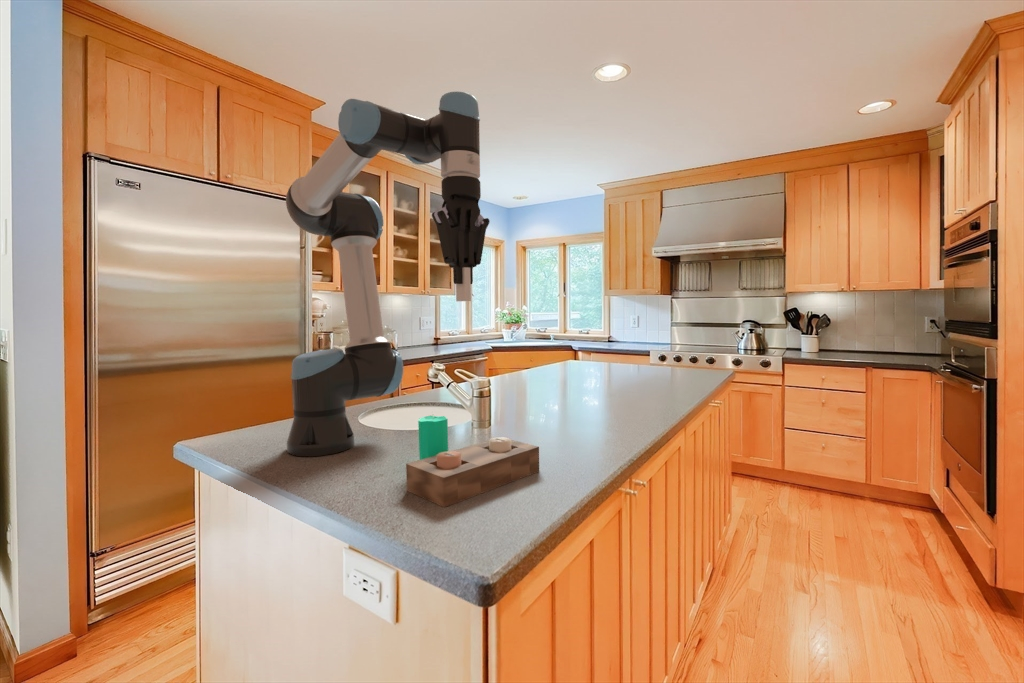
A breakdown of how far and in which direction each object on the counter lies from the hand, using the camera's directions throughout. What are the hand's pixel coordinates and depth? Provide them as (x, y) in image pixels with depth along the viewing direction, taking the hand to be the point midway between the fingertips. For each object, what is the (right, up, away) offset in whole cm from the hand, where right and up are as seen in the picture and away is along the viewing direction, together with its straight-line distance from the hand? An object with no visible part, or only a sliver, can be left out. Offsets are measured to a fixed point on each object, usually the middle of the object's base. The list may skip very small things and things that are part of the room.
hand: (463, 301), depth 95 cm
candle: (-7, -35, +5) cm, 35 cm away
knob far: (+7, -34, +2) cm, 35 cm away
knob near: (-2, -35, -7) cm, 36 cm away
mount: (+3, -35, -3) cm, 35 cm away
